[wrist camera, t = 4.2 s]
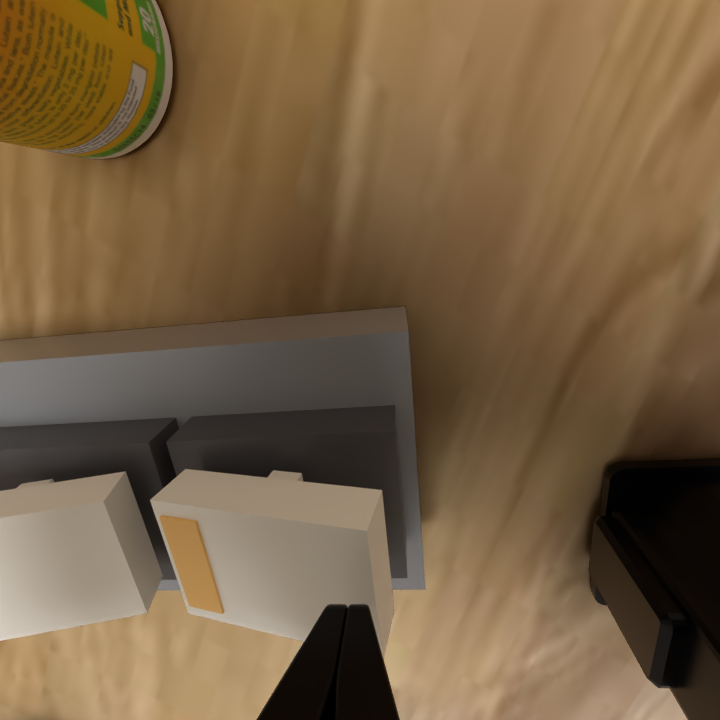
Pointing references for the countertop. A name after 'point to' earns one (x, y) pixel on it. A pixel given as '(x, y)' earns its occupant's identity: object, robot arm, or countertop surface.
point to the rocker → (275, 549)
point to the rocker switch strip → (223, 411)
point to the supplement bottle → (83, 74)
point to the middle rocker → (73, 555)
